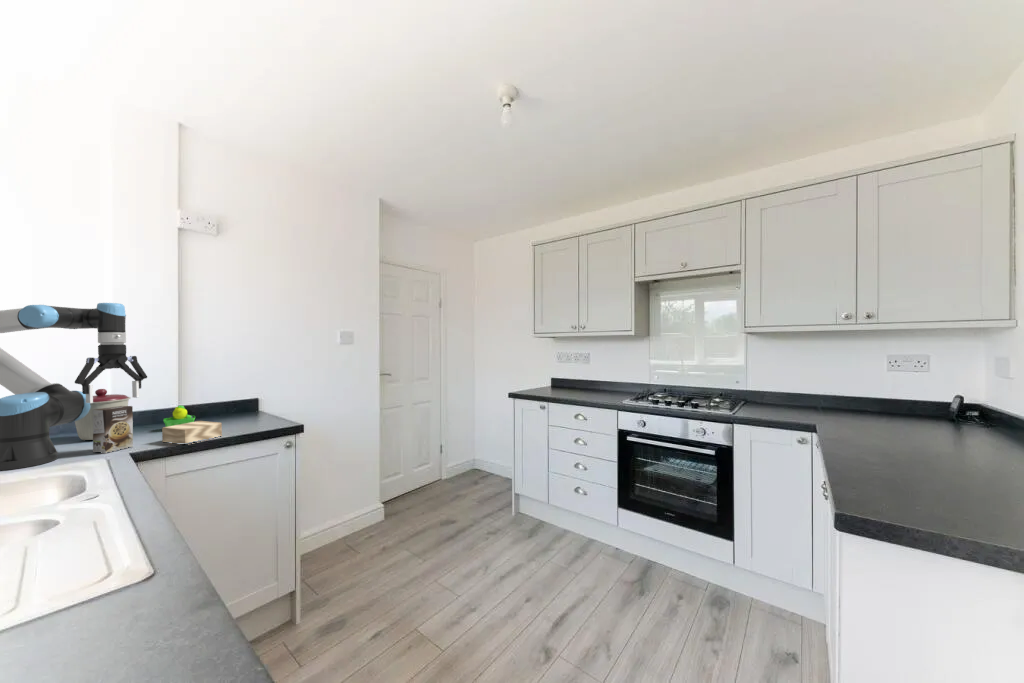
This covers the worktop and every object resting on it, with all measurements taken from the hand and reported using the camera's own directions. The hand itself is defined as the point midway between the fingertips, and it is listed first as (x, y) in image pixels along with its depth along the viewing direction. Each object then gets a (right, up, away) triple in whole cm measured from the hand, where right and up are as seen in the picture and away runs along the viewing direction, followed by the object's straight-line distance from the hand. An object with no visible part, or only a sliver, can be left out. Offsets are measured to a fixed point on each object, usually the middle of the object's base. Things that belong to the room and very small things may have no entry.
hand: (113, 400), depth 150 cm
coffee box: (0, -19, 0) cm, 19 cm away
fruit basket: (-5, -19, +36) cm, 41 cm away
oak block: (+18, -19, +15) cm, 30 cm away
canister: (-25, -19, +20) cm, 37 cm away
